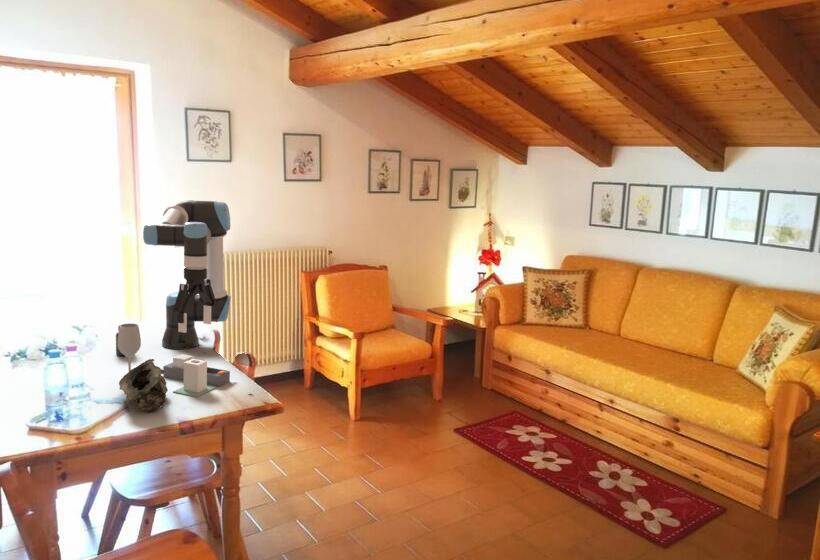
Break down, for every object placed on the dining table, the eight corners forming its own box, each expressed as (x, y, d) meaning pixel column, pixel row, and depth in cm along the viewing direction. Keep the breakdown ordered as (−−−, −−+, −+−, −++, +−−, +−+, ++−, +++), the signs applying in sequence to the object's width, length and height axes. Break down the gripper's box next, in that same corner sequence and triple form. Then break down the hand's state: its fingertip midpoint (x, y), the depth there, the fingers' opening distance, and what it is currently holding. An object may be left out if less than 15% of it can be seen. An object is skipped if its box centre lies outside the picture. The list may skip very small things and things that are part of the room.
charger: (192, 385, 230) (192, 357, 228) (206, 388, 228) (207, 360, 226) (183, 389, 225) (183, 361, 224) (197, 392, 223) (198, 364, 222)
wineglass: (136, 377, 236) (135, 321, 232) (144, 383, 231) (144, 326, 227) (115, 381, 231) (113, 324, 227) (123, 387, 225) (122, 329, 222)
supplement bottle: (112, 355, 259) (111, 327, 257) (122, 351, 266) (122, 323, 264) (128, 357, 258) (127, 328, 256) (137, 353, 265) (137, 324, 263)
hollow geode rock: (151, 433, 201) (187, 397, 203) (119, 409, 195) (155, 373, 198) (147, 399, 226) (178, 368, 228) (118, 377, 220) (150, 345, 222)
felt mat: (193, 383, 233) (193, 382, 233) (216, 387, 230) (216, 386, 230) (173, 392, 223) (173, 391, 223) (197, 397, 220) (197, 396, 220)
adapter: (181, 366, 243) (181, 354, 242) (192, 368, 241) (192, 356, 240) (173, 370, 238) (173, 357, 237) (184, 372, 237) (184, 359, 236)
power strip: (148, 373, 241) (148, 362, 240) (160, 368, 247) (160, 357, 247) (218, 387, 231) (218, 375, 231) (229, 381, 238) (229, 369, 237)
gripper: (208, 262, 232) (208, 319, 236) (161, 271, 209) (161, 334, 213) (226, 264, 230) (225, 321, 234) (180, 273, 207) (180, 337, 210)
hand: (195, 327), depth 223 cm, fingers open, 13 cm apart
